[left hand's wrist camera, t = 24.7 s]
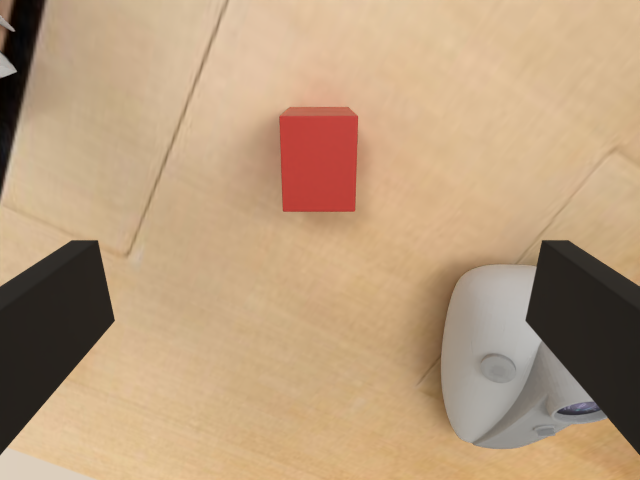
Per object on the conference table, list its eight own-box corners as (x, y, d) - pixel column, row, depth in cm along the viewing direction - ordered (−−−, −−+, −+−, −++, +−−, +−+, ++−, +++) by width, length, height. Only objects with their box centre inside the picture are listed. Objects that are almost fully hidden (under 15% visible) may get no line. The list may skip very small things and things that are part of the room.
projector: (359, 334, 45) (376, 444, 32) (535, 195, 40) (649, 256, 26) (477, 443, 51) (535, 575, 37) (646, 335, 45) (787, 445, 32)
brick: (347, 182, 39) (355, 211, 30) (291, 182, 39) (282, 211, 30) (348, 107, 37) (358, 115, 28) (289, 107, 37) (279, 115, 28)
